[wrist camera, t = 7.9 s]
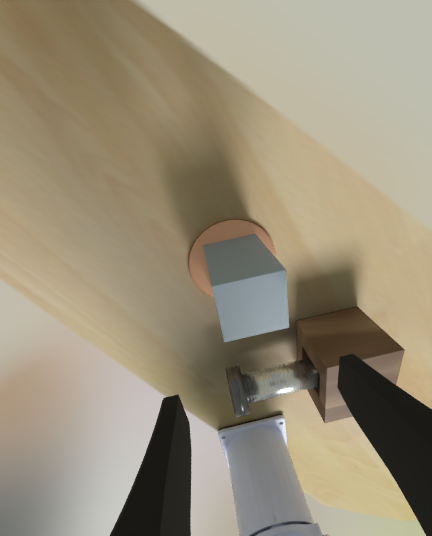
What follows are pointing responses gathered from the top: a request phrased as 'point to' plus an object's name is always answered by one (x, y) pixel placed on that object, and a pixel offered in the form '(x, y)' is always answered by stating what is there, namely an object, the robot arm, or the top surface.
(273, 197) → the top surface
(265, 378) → the rod
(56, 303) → the top surface
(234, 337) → the block
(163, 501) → the robot arm
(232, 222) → the plate
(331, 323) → the rod housing
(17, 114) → the top surface
